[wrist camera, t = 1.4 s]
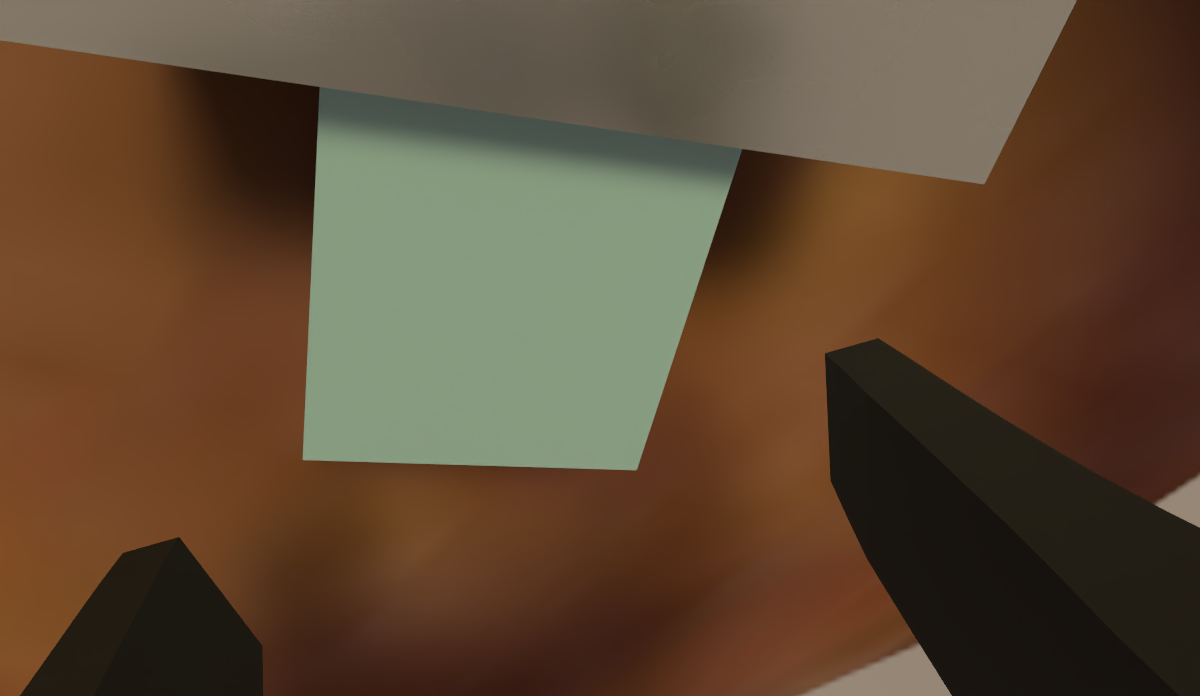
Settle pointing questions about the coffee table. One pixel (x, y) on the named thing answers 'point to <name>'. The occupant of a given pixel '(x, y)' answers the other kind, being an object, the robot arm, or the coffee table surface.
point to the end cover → (497, 283)
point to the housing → (627, 63)
